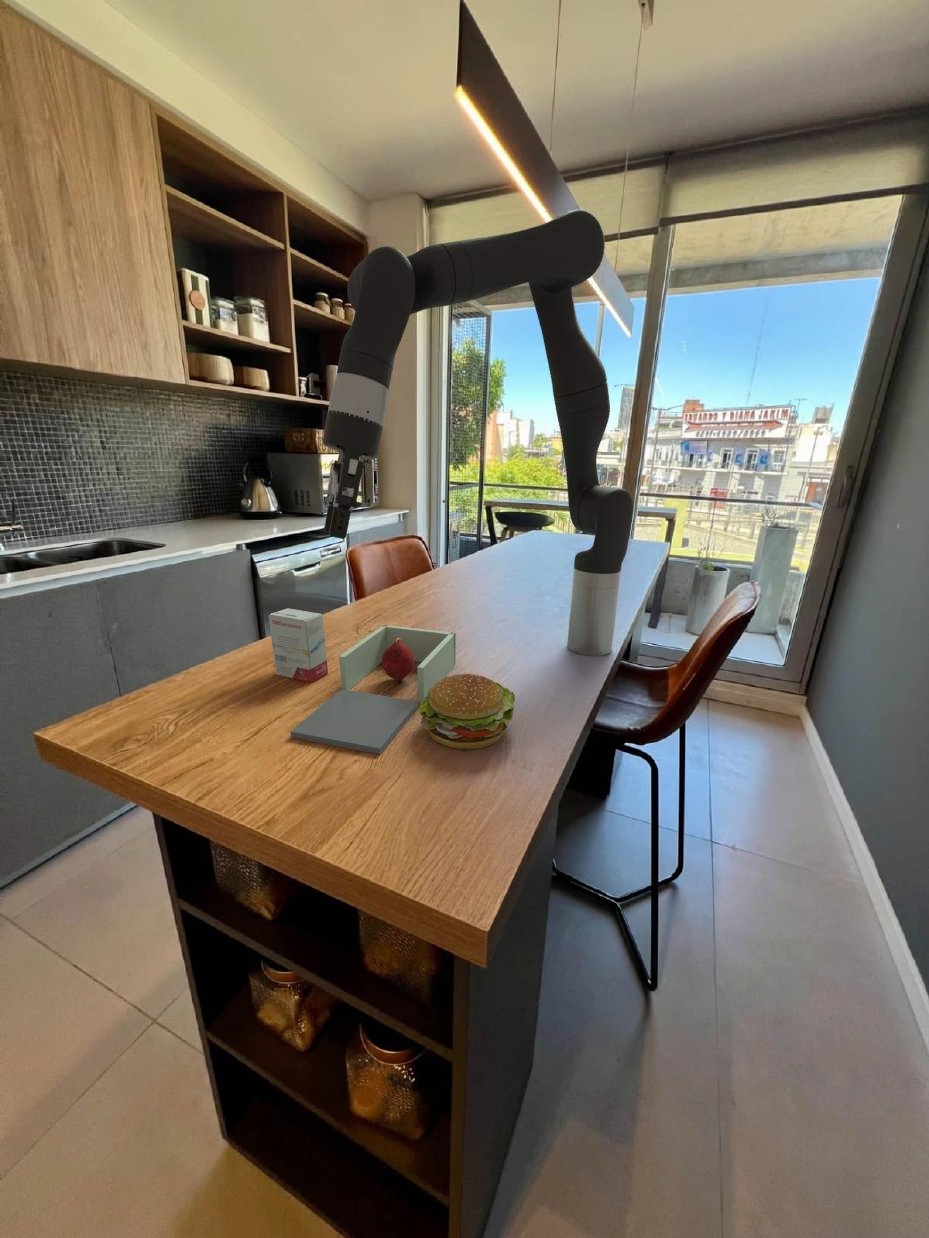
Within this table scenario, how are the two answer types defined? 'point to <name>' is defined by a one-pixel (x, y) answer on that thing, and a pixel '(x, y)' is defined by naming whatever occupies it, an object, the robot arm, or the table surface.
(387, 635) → the cubby
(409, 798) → the table surface
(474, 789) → the table surface
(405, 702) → the tile
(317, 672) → the ink box
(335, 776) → the table surface
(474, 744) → the food
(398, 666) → the onion
